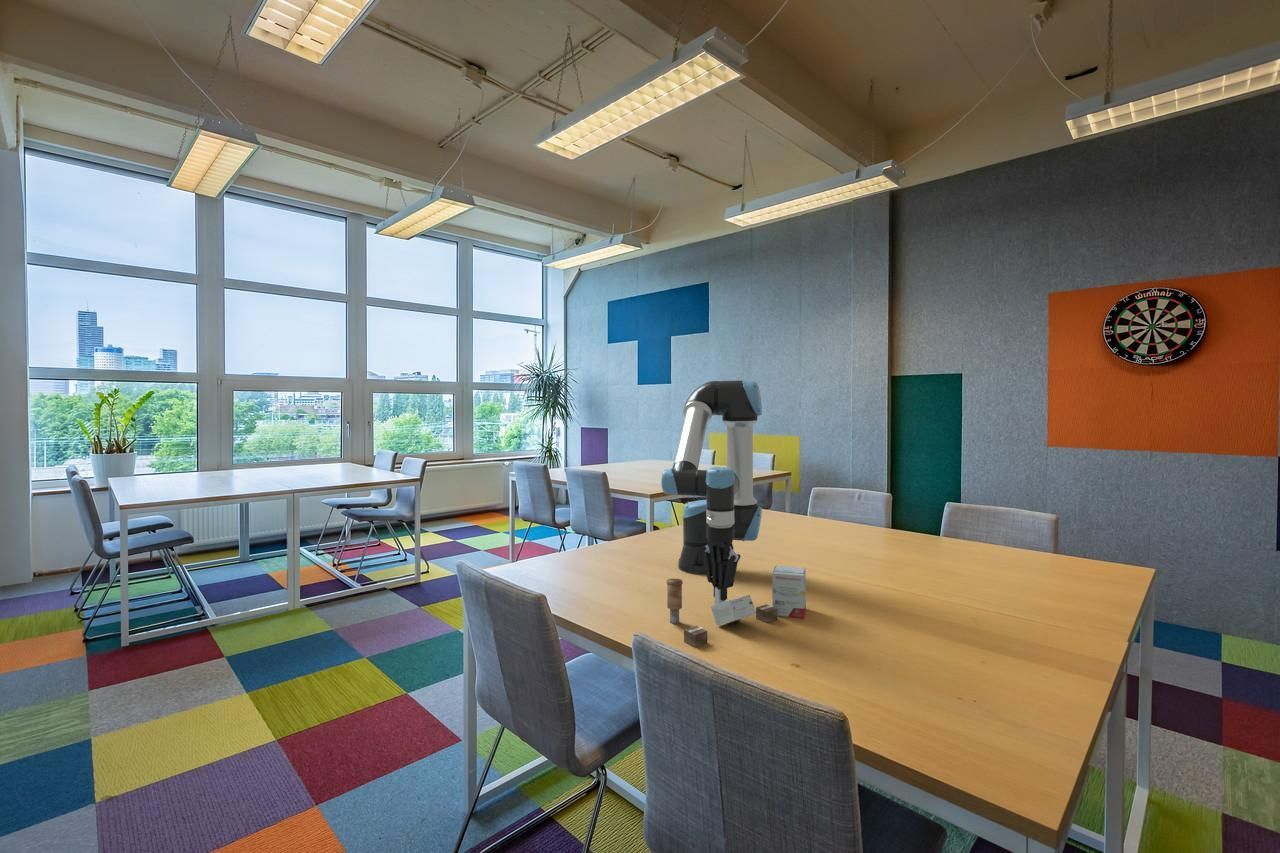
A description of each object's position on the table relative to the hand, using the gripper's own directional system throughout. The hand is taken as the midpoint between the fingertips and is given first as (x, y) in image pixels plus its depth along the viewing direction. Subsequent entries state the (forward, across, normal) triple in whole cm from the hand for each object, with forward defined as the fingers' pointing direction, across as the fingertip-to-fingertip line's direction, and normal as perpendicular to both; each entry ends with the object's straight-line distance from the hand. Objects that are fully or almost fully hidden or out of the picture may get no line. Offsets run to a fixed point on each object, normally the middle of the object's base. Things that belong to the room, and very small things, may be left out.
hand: (720, 610), depth 158 cm
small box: (-1, +9, -3) cm, 9 cm away
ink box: (+1, +10, +16) cm, 19 cm away
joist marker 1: (+1, +10, -18) cm, 20 cm away
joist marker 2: (+1, +10, +8) cm, 12 cm away
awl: (+1, -3, -13) cm, 14 cm away
